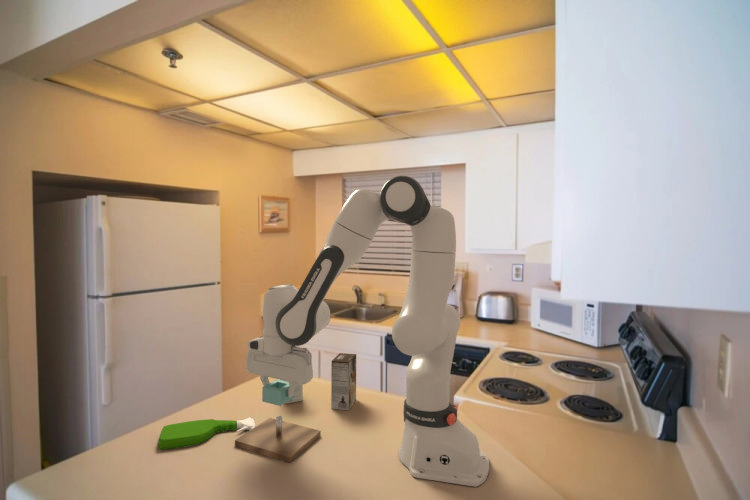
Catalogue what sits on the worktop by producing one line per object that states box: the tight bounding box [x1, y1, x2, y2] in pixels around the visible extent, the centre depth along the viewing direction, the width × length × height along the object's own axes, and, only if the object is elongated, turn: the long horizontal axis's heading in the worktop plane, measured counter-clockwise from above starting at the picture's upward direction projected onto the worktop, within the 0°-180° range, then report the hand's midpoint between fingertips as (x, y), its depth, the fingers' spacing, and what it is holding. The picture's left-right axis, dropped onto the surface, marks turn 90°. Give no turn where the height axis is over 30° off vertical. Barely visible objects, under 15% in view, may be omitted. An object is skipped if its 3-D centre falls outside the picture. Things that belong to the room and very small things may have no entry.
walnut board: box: [234, 417, 322, 464], centre depth 101 cm, size 18×14×2 cm
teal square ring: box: [261, 379, 294, 407], centre depth 101 cm, size 6×6×4 cm
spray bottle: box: [158, 416, 257, 451], centre depth 104 cm, size 3×11×24 cm
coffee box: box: [330, 352, 357, 411], centre depth 124 cm, size 9×6×16 cm
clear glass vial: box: [275, 415, 283, 437], centre depth 101 cm, size 2×2×6 cm
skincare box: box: [282, 380, 304, 405], centre depth 129 cm, size 8×7×16 cm
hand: (278, 393), depth 101 cm, fingers closed on teal square ring, 6 cm apart
